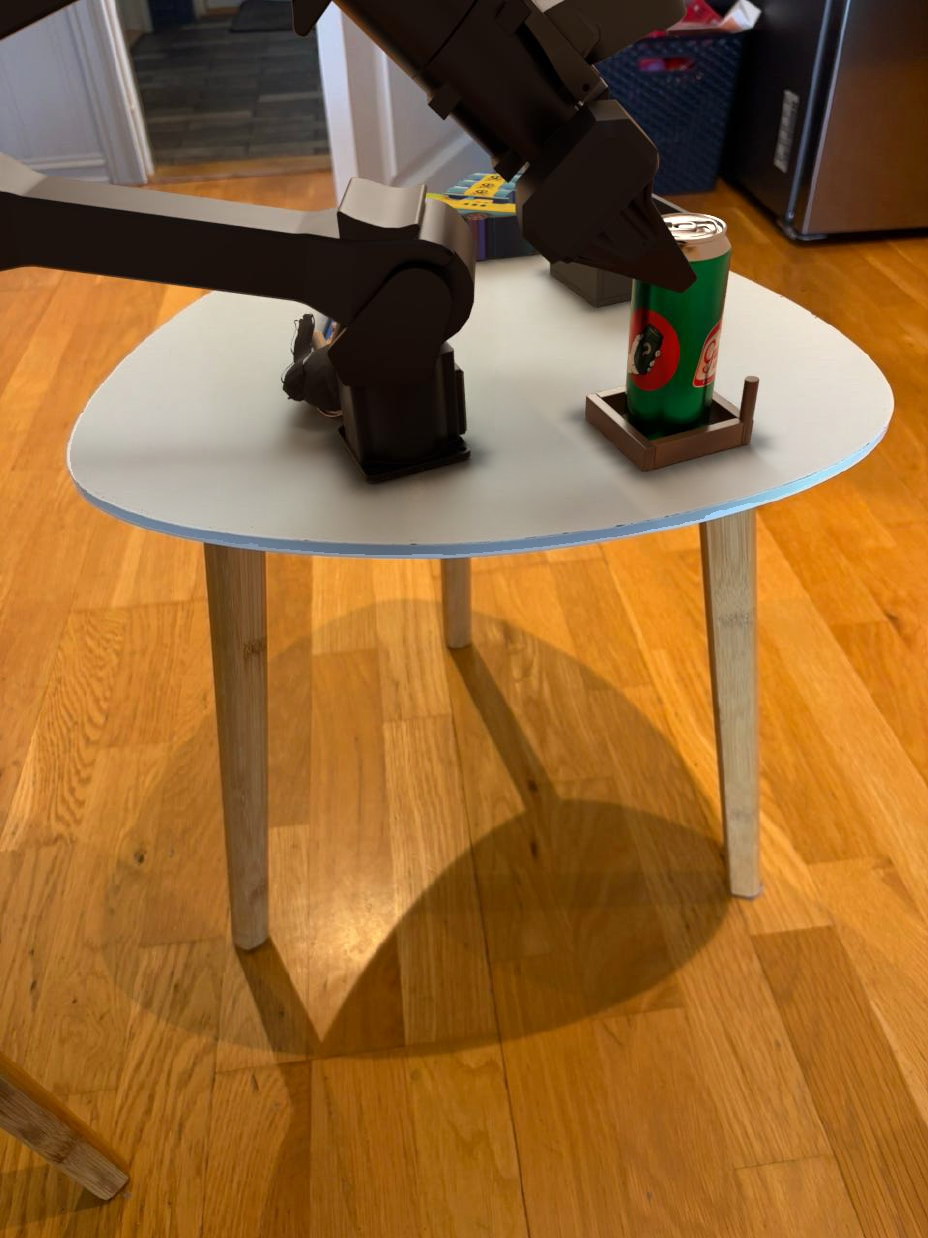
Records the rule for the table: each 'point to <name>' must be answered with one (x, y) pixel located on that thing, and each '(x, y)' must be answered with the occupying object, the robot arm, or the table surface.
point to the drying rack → (664, 451)
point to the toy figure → (312, 370)
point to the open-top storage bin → (603, 272)
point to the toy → (488, 214)
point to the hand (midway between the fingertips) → (669, 252)
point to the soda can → (678, 335)
